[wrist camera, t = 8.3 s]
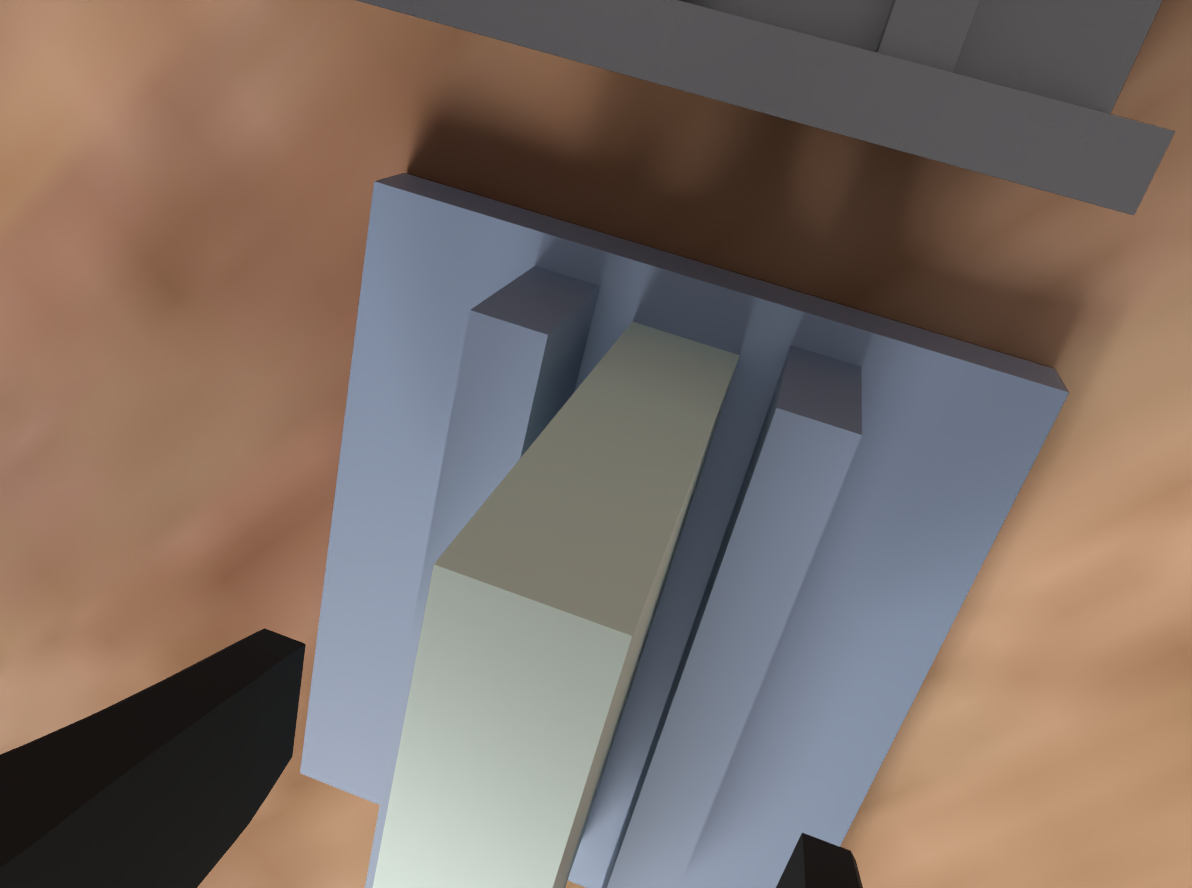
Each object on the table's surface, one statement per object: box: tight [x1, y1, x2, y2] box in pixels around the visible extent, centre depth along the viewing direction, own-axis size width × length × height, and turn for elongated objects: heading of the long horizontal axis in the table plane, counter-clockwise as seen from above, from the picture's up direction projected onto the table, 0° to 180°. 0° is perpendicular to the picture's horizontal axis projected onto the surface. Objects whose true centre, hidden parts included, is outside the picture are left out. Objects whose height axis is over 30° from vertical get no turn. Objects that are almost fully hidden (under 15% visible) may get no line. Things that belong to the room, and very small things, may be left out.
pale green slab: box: [373, 322, 740, 888], centre depth 12 cm, size 2×10×7 cm, turn 167°
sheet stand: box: [300, 173, 1069, 888], centre depth 15 cm, size 10×12×4 cm
